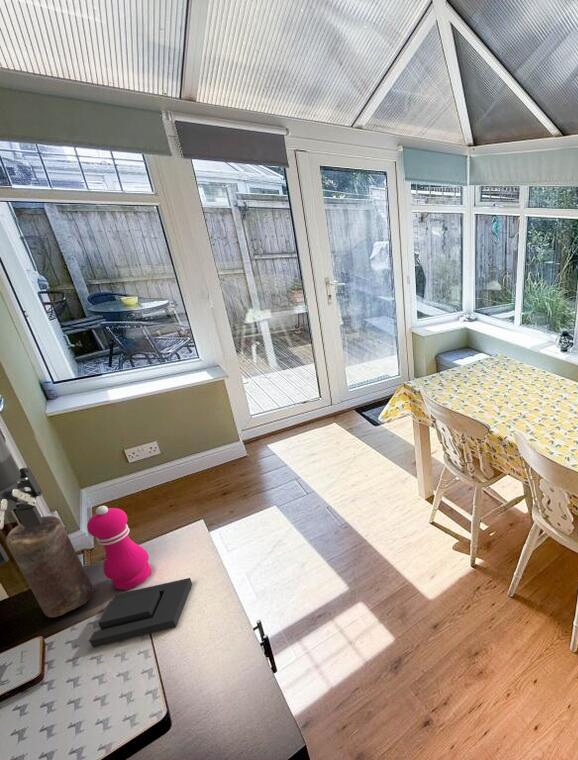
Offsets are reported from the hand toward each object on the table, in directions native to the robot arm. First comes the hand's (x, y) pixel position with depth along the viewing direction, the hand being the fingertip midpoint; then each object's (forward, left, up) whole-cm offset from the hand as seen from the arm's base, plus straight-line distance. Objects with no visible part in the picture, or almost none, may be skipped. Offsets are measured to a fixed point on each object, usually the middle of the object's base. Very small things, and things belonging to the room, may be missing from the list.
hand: (17, 543), depth 67 cm
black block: (+8, +3, -25) cm, 27 cm away
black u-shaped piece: (+10, +3, -25) cm, 27 cm away
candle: (-5, +11, -25) cm, 28 cm away
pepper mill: (+4, +14, -25) cm, 29 cm away
